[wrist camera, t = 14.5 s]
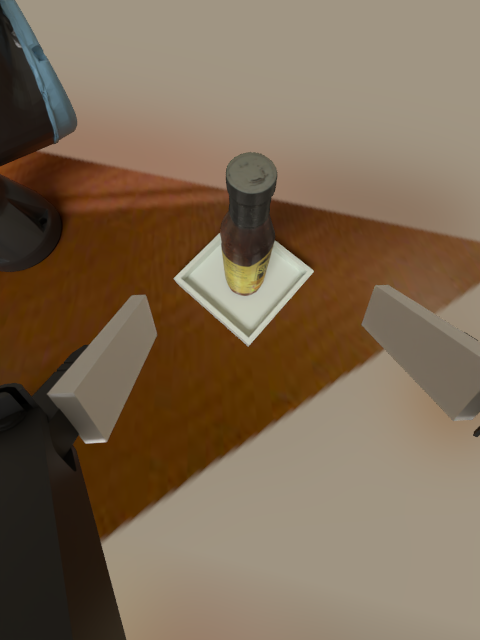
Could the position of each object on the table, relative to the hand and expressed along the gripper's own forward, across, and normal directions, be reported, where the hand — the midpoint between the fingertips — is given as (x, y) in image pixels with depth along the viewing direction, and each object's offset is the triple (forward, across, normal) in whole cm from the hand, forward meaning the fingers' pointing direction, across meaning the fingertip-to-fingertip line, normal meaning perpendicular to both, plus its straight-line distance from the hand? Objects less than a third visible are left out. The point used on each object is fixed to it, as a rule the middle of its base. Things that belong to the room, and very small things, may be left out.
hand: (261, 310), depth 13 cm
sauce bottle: (+23, 0, -7) cm, 24 cm away
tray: (+24, 0, -8) cm, 25 cm away
